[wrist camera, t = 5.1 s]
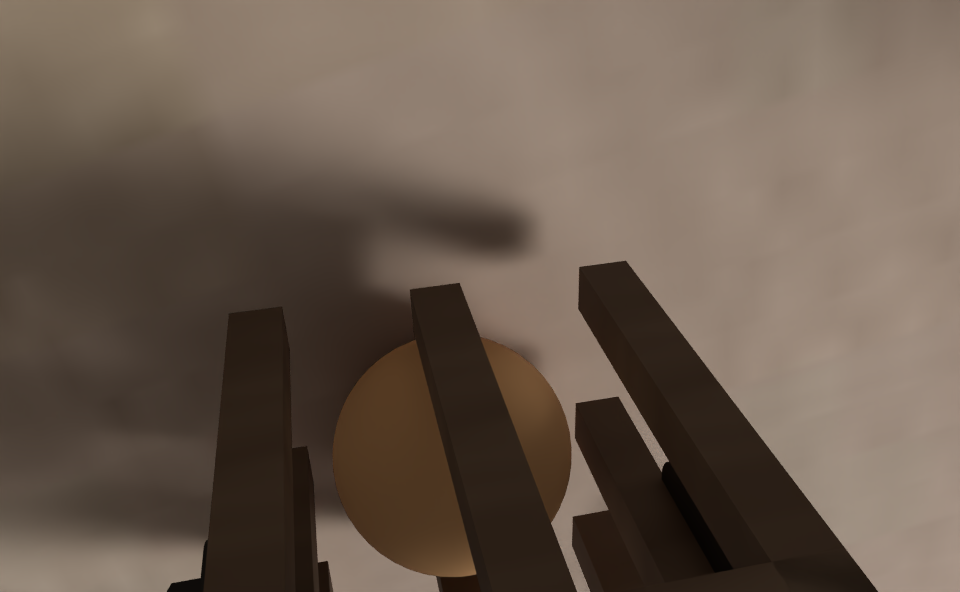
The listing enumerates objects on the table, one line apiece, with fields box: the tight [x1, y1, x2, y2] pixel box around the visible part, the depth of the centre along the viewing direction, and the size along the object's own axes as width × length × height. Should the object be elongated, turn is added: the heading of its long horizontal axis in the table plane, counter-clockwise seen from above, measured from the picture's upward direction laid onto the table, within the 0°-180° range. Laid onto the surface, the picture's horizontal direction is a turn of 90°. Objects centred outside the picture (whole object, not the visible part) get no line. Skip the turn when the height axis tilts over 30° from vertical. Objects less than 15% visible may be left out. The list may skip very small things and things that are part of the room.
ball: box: [333, 338, 571, 577], centre depth 14 cm, size 4×4×4 cm
